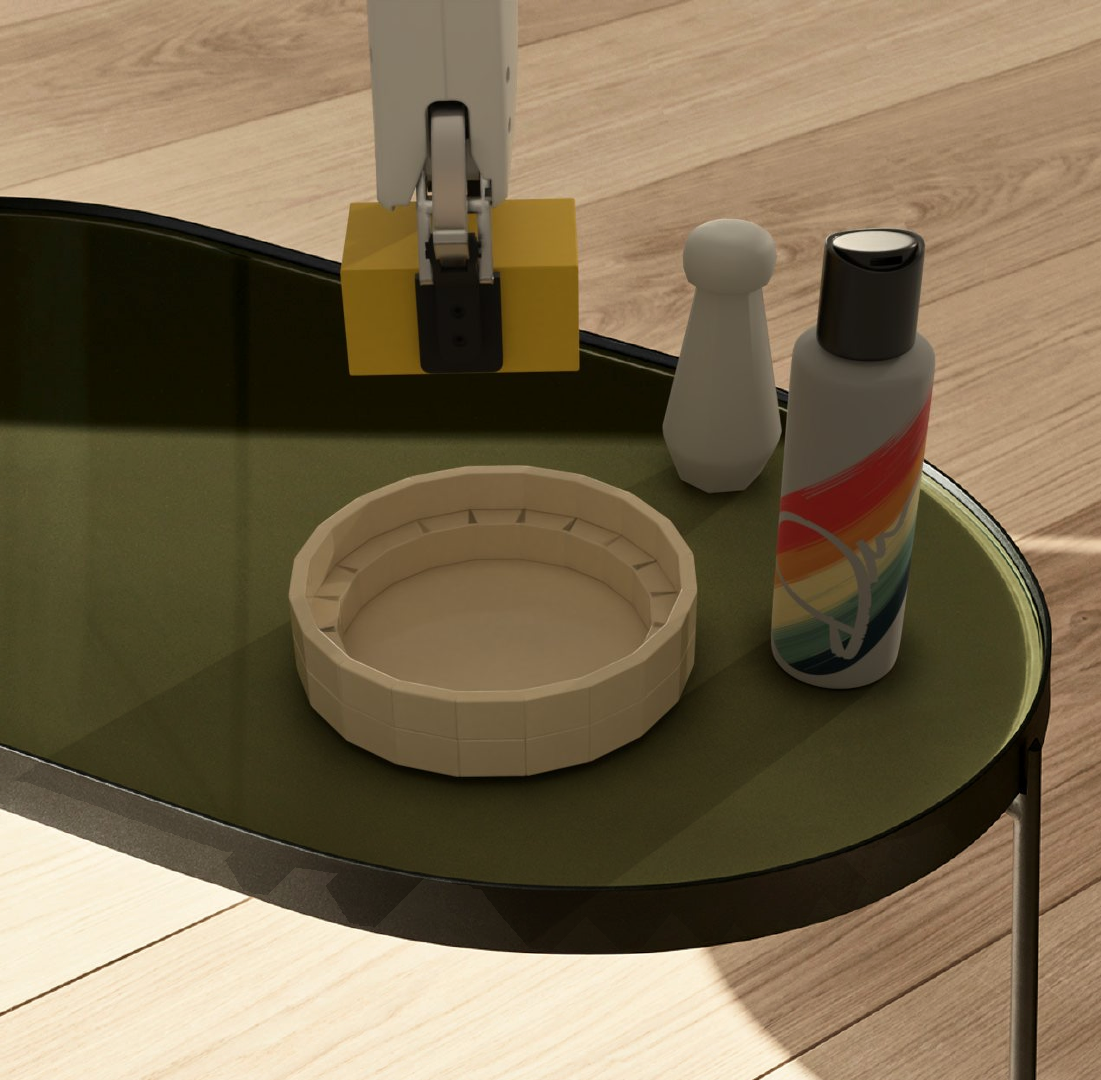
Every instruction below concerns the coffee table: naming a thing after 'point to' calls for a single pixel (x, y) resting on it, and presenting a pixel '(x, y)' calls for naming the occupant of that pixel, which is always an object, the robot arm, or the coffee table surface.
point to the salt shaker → (725, 361)
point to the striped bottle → (853, 463)
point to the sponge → (518, 254)
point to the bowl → (494, 620)
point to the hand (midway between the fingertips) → (463, 323)
